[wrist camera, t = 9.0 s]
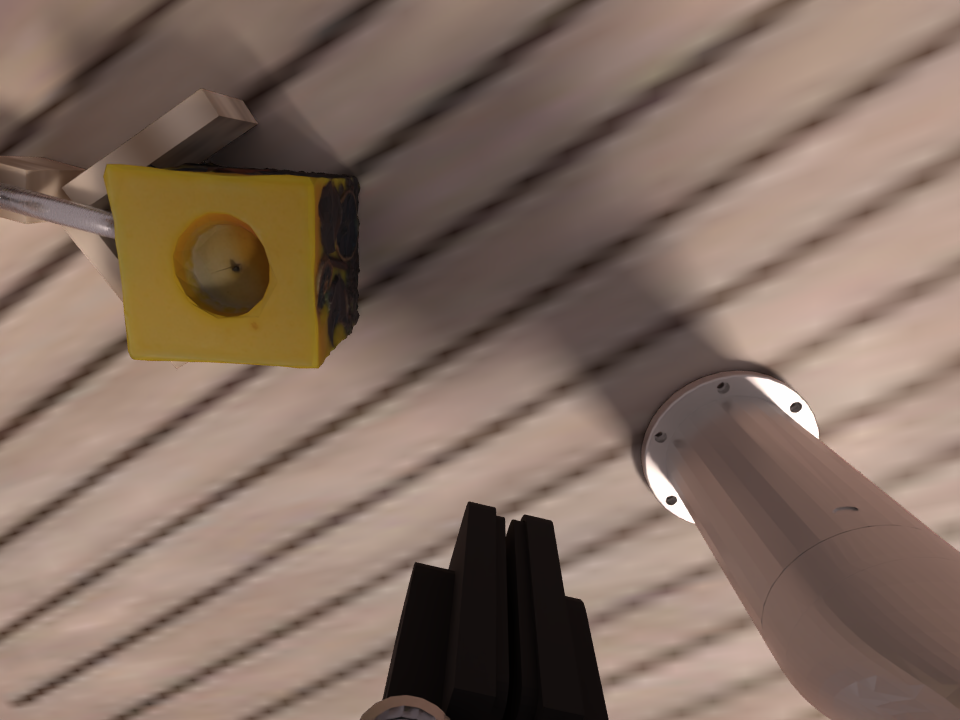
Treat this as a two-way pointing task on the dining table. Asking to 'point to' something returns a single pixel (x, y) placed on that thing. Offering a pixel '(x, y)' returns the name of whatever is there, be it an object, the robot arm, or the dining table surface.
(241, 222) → the candle
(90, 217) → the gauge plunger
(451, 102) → the dining table surface
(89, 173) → the centring jig
